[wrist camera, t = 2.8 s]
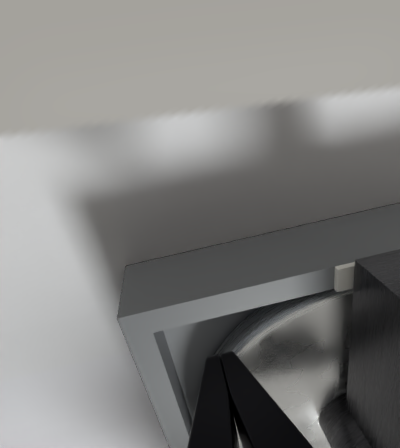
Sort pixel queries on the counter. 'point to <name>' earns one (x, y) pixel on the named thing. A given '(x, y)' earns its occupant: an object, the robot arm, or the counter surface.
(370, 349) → the dial
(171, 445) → the dial base
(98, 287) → the counter surface
